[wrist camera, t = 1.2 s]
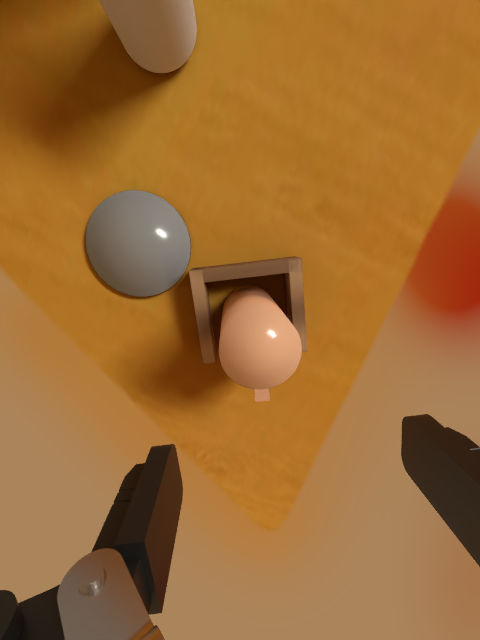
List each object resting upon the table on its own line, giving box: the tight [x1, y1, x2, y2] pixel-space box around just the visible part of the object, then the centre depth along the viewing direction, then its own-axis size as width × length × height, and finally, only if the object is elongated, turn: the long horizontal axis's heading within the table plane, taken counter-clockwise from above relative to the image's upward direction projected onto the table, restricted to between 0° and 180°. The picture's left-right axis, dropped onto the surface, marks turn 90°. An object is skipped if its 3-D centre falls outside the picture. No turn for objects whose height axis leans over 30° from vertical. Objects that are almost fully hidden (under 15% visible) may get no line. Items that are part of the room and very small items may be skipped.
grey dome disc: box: [86, 190, 191, 297], centre depth 30 cm, size 10×10×1 cm
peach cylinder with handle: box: [219, 286, 302, 402], centre depth 27 cm, size 8×6×12 cm, turn 6°
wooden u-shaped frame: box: [189, 257, 307, 364], centre depth 30 cm, size 9×10×3 cm
